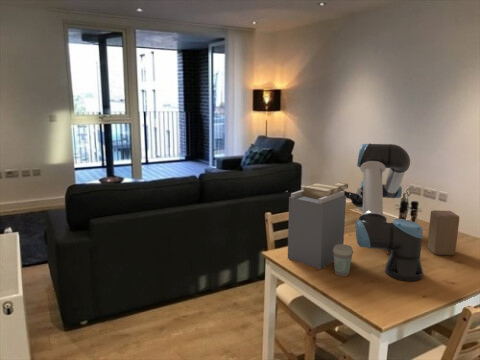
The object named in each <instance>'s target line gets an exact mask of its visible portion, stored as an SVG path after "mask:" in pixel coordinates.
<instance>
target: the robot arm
mask: <svg viewBox="0 0 480 360" xmlns="http://www.w3.org/2000/svg"><path fill="white" fill-rule="evenodd" d="M356 162H357V163H356V166H357V168H359V169H360V170H359V171H360V172H361V173H362V176H363V177H362V178H363V179H362V180H361V181H360V187H357V189H356V191H355V192H351V191H346V190H345V189H344V190H341V191H344V196H346V200H347V199H348V200H351V203H352V204H353V206H355V207H356V208H358V209H359V211H361V212H362V214H361V215H359V217H358V219H356V221H355V238H356V243H357V245H358V246H359V247H360V248H365V249H373V250H374V249H377V250H385V251H386V250H388V251H390V253H389V254H390V255H389V257H388V259H387V261H386V264H385V267H384V273H385V274H386V275H388V276H389V277H391V278H393V279H396V280H398V281H399V280H400V281H405V282H416V281H420V280H422V279H423V277H424V269H423V265H422V262H421V252H422V242H423V237H424V236H423V227H422V226H421V225H420V224H419V223H417V222H416V221H412V220H409V219H405V218H395V219H393V221H392V222H387V217H386V216H385V215H384V214H383V213H384V207H383V205H384V204H383V203H384V202H383V201H384V200H383V199H384V198H385V199H401V197H402V193H403V188H402V185H401V183H402V181H403V178H404V175H405V173H406V172H407V171H408V170H409V168H410V166H411V158H410V156H409V153H408V152H407V151H406V149H404V148H403V147H402V146H400V145H397V144H394V143H393V144H392V143H362V144H361V145H360V146H359V151H358V156H357V161H356ZM386 169H388V173H387V177H386V180H385V182H384V183H385V184H383V173H384V172H385V171H386ZM334 184H335V183H333V184H332V185H334ZM339 192H340V191H339Z"/></svg>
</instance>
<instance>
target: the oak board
mask: <svg viewBox="0 0 480 360" xmlns="http://www.w3.org/2000/svg"><path fill="white" fill-rule="evenodd" d="M333 184H334V185H333ZM333 184H325V183H321V182H320V183H318V182H316V183H314V184H310V185H306V186H303V189H302V190H303V196H308V197H313V198H318V199H319V198H322V197H325V196H328V195H331V194H334V193H337V192H339V191H341V190H344V191H345V190H347V189H349V183H348V182H343V181H341V182H338V183H333Z"/></svg>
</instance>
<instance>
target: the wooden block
mask: <svg viewBox="0 0 480 360" xmlns="http://www.w3.org/2000/svg"><path fill="white" fill-rule="evenodd" d="M459 224H460V216H459V215H458V214H456V213H455V212H453V211H451V210H437V209H436V210H431V211H430V217H429V228H428V236H427V246H426V247H427V249H428V250H429V251H430V252H431V253H432V254H433V255H435V256H436V255H437V256H455V255H456V250H457V242H458V241H457V240H458V233H459V227H460V226H459Z"/></svg>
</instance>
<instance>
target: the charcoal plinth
mask: <svg viewBox="0 0 480 360" xmlns="http://www.w3.org/2000/svg"><path fill="white" fill-rule="evenodd" d="M344 191H345V190H344ZM344 191H340V192H337V193H334V194H331V195H328V196H325V197H322V198H319V199H318V198H313V197H308V196H303V189H300V190H297V191H294V192H291V193H290V196H289V197H288V228H287V234H288V235H287V259H289V260H291V261H295V262H298V263H301V264H304V265H307V266H309V267H312V268H316V269H318V270H322V269H324V268H325V267H326V266H329V265H330V264H332V263H334V252H333V248H334V246H335V245H338V244H344V239H345V224H346V222H345V221H346V206H347V204H346V203H347V199H346V196H344Z"/></svg>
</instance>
